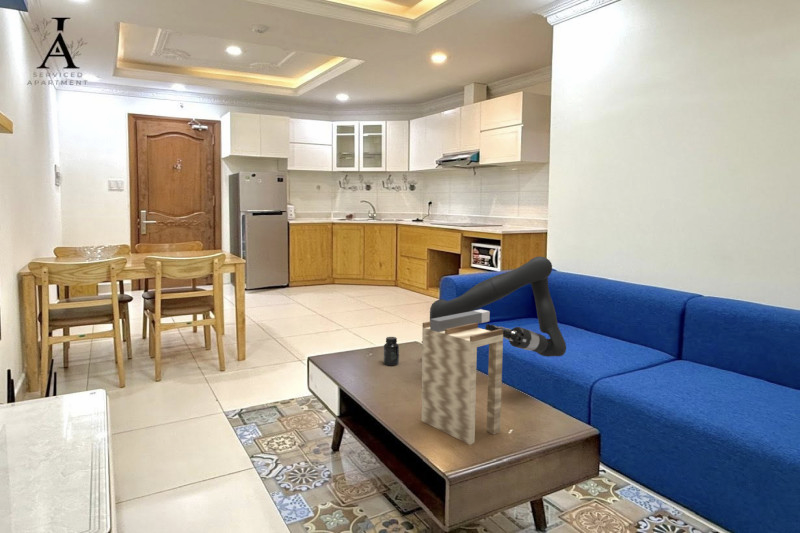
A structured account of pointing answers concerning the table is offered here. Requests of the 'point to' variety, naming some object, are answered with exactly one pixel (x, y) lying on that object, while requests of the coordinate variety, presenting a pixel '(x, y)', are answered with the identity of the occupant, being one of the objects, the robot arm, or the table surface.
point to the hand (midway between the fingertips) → (493, 329)
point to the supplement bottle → (391, 352)
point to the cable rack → (459, 379)
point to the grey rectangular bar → (459, 320)
